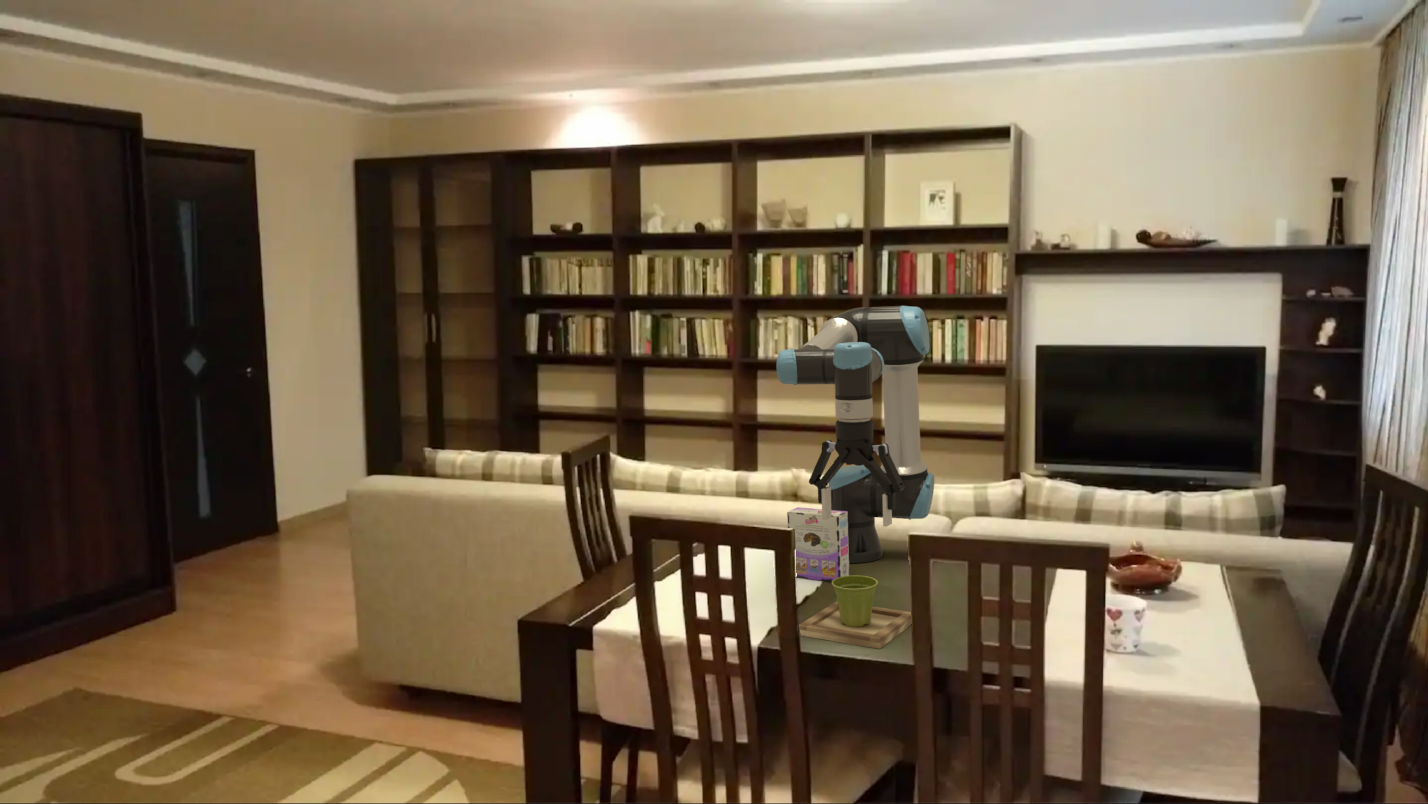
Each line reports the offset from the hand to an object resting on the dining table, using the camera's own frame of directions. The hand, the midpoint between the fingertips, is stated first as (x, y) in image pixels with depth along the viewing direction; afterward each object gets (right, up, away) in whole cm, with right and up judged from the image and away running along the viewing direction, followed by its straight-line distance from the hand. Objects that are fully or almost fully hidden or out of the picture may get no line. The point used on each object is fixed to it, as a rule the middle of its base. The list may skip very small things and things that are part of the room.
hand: (856, 521), depth 216 cm
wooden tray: (0, -22, +2) cm, 22 cm away
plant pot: (0, -21, +2) cm, 21 cm away
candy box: (-4, -18, +40) cm, 44 cm away
